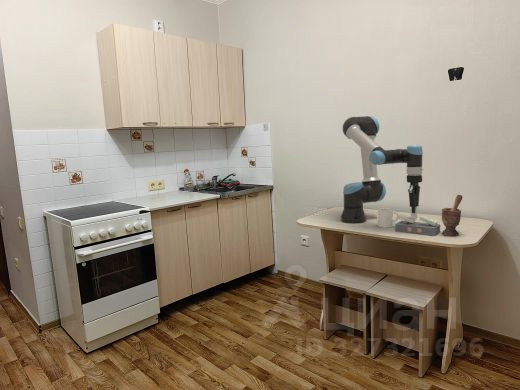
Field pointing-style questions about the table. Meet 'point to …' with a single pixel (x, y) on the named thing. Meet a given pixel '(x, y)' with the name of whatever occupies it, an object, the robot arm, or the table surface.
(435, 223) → the rocker
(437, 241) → the table surface
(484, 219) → the table surface
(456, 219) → the mortar and pestle
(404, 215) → the rocker
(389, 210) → the mug
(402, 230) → the switch unit
